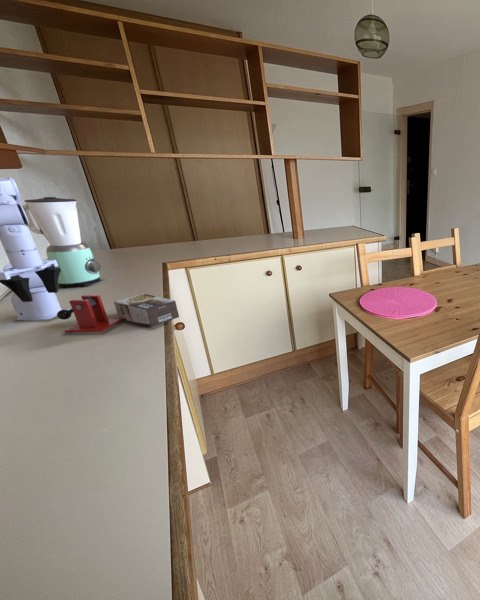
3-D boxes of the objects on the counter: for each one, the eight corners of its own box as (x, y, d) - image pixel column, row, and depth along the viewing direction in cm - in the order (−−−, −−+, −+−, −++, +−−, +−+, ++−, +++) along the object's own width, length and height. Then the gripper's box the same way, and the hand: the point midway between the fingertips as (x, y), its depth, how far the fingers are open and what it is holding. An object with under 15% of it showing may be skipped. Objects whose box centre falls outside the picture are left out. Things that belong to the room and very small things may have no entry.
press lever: (59, 322, 92) (51, 314, 91) (68, 318, 95) (60, 310, 94) (90, 307, 92) (82, 299, 90) (98, 303, 94) (91, 295, 93)
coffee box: (119, 319, 101) (150, 329, 95) (113, 301, 99) (145, 309, 93) (149, 310, 109) (180, 318, 103) (144, 292, 107) (176, 300, 101)
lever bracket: (66, 334, 91) (53, 303, 88) (88, 322, 99) (77, 293, 95) (103, 333, 92) (92, 302, 89) (122, 321, 100) (113, 293, 96)
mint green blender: (113, 278, 140) (87, 196, 128) (93, 287, 128) (62, 198, 115) (63, 280, 136) (30, 196, 124) (37, 290, 124) (-2, 198, 111)
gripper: (9, 255, 79) (31, 305, 84) (61, 245, 93) (77, 288, 97) (-22, 256, 78) (1, 306, 83) (35, 245, 92) (52, 289, 97)
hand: (40, 296), depth 90 cm, fingers open, 7 cm apart
